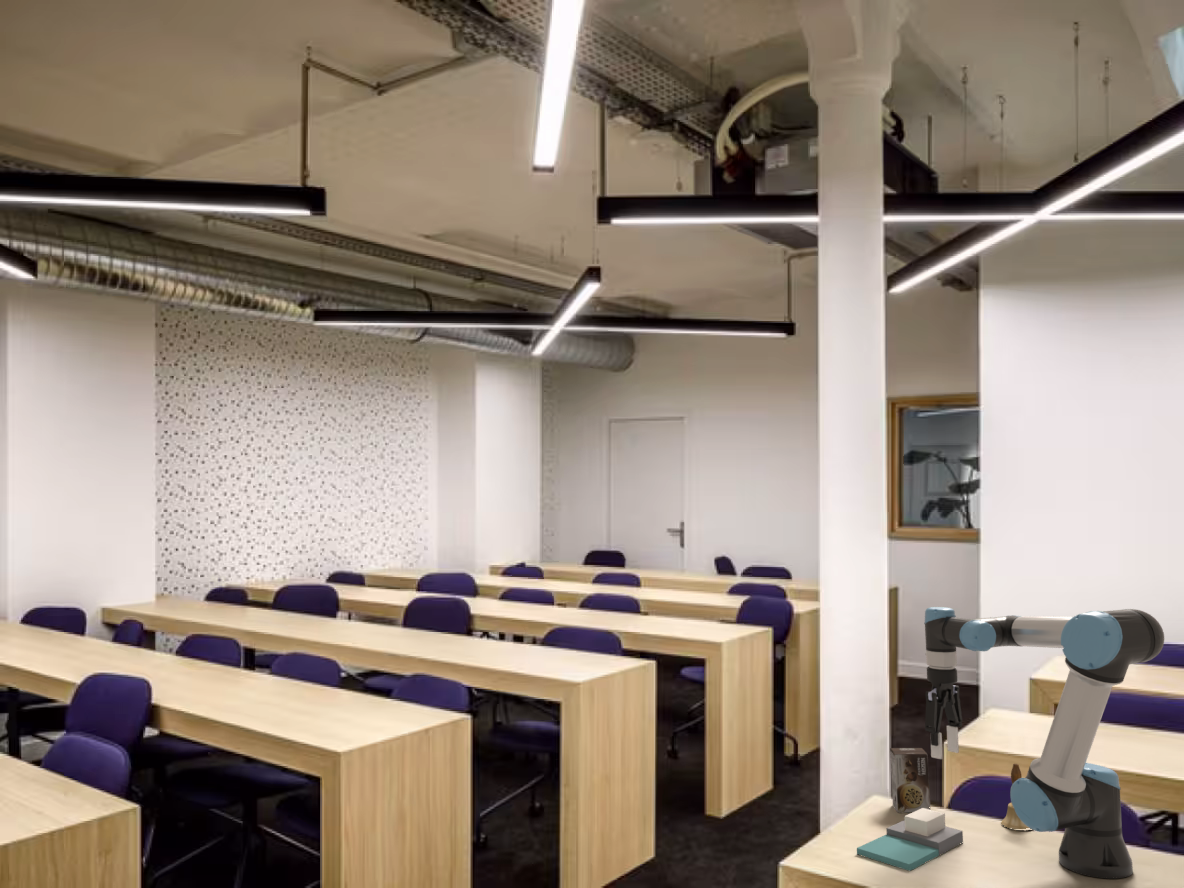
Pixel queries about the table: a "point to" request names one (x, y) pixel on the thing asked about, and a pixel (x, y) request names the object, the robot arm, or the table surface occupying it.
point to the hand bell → (1011, 817)
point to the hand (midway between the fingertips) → (945, 754)
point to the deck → (929, 837)
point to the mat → (898, 852)
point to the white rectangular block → (925, 822)
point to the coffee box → (909, 779)
